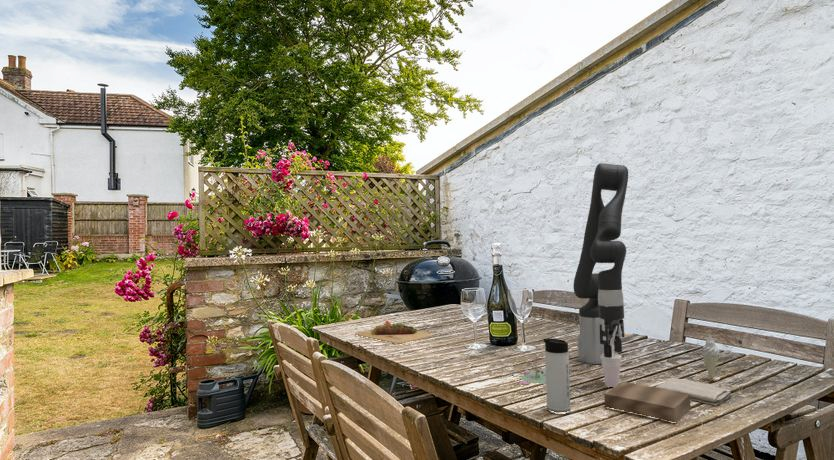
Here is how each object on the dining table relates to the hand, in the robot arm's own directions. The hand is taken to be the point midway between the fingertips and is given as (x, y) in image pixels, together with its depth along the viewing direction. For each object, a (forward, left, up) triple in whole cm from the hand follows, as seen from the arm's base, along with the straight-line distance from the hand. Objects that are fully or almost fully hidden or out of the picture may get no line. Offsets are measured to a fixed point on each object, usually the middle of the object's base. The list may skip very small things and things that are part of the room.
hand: (613, 354), depth 153 cm
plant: (-23, -12, -11) cm, 28 cm away
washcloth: (+20, +7, -11) cm, 24 cm away
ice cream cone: (+21, +26, -10) cm, 35 cm away
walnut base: (+14, -13, -10) cm, 22 cm away
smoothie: (-1, 0, -10) cm, 10 cm away
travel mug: (-4, -30, -10) cm, 32 cm away
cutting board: (-115, +11, -11) cm, 116 cm away
